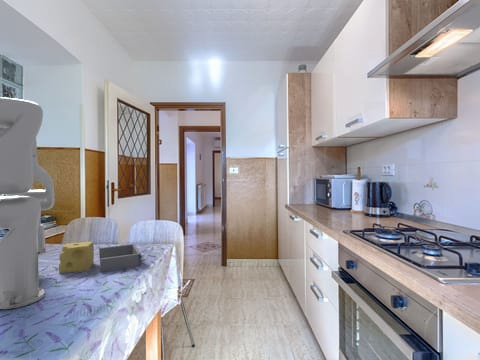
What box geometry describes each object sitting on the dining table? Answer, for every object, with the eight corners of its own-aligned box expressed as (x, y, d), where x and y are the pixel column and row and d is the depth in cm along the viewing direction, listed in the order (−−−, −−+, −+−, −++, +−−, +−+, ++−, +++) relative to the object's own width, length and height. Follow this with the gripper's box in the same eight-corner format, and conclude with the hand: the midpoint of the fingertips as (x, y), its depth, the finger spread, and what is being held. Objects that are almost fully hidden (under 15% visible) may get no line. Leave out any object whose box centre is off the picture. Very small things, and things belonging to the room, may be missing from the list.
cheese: (58, 274, 105) (58, 248, 105) (68, 265, 116) (67, 242, 116) (88, 271, 108) (88, 246, 108) (95, 263, 118) (94, 240, 118)
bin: (141, 265, 114) (140, 253, 114) (100, 272, 107) (100, 259, 107) (134, 254, 132) (134, 243, 132) (99, 258, 125) (99, 247, 125)
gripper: (0, 225, 97) (1, 276, 98) (50, 222, 105) (51, 269, 105) (6, 222, 104) (7, 269, 104) (53, 219, 111) (54, 263, 111)
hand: (29, 269), depth 105 cm, fingers closed
